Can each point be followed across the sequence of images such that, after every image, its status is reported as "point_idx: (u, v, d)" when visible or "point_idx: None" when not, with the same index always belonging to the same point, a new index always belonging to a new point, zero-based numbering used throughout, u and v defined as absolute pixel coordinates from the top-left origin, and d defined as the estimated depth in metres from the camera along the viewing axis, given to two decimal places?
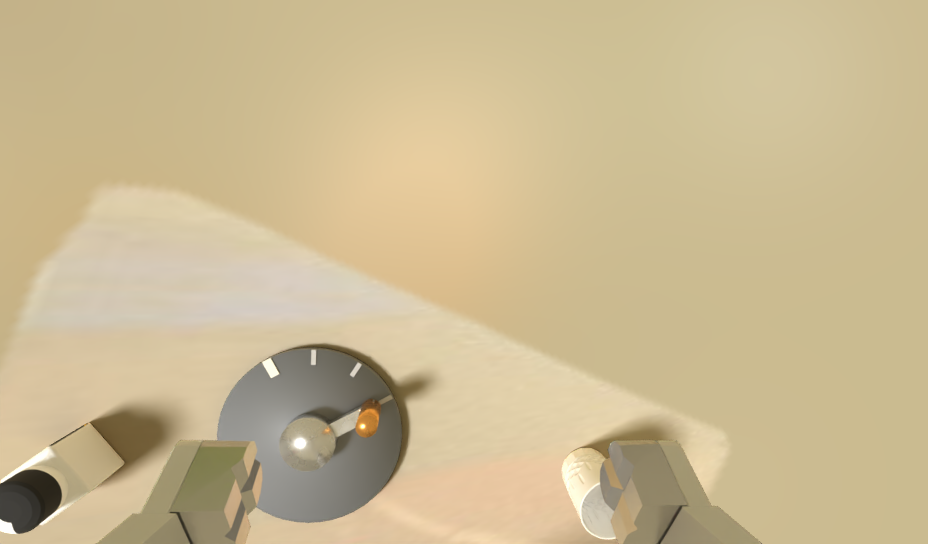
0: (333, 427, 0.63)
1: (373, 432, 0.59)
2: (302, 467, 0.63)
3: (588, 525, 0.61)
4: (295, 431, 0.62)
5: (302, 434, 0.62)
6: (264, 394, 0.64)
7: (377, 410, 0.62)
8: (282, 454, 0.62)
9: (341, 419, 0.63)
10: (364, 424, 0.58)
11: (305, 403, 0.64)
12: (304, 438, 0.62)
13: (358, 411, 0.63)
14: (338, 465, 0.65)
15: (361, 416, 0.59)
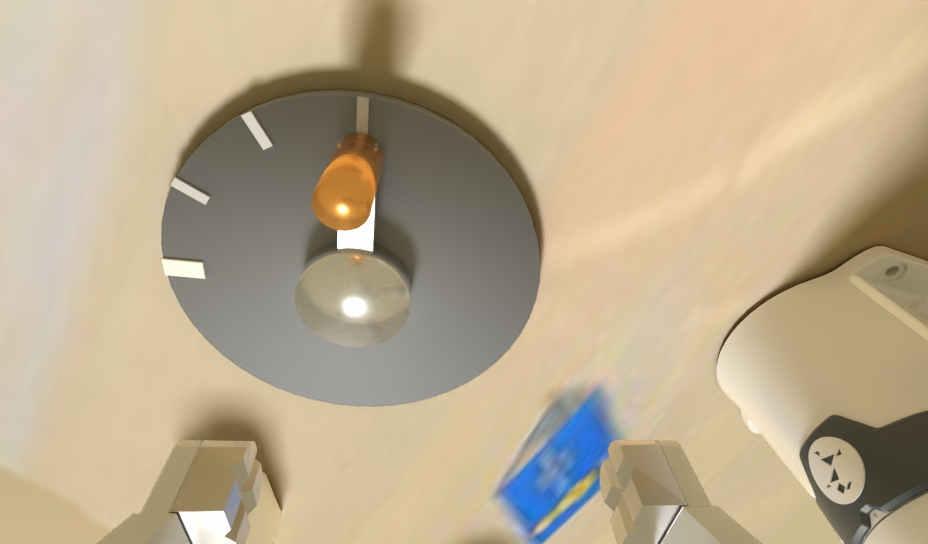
0: (348, 247, 0.28)
1: (365, 198, 0.21)
2: (388, 330, 0.31)
3: None
4: (315, 306, 0.30)
5: (327, 300, 0.30)
6: (234, 302, 0.32)
7: (348, 150, 0.23)
8: (345, 343, 0.32)
9: None
10: (332, 205, 0.21)
11: (286, 256, 0.31)
12: (337, 301, 0.30)
13: None
14: (439, 274, 0.32)
15: None
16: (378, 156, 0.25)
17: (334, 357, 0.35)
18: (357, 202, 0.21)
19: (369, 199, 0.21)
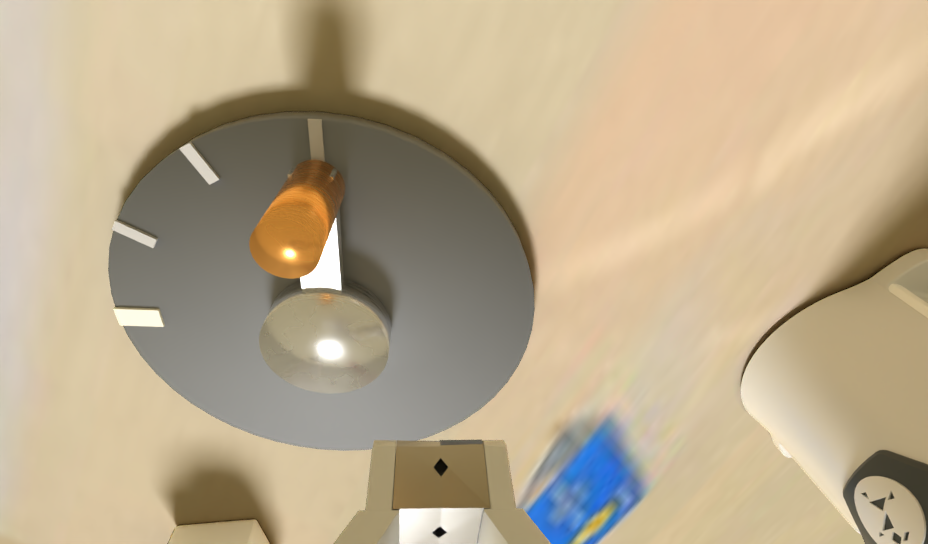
0: (313, 286, 0.25)
1: (311, 241, 0.18)
2: (368, 374, 0.28)
3: None
4: (282, 353, 0.27)
5: (296, 346, 0.27)
6: (199, 350, 0.29)
7: (296, 182, 0.20)
8: (321, 390, 0.29)
9: None
10: (274, 250, 0.18)
11: (249, 298, 0.27)
12: (307, 346, 0.27)
13: None
14: (421, 308, 0.28)
15: None
16: (335, 186, 0.22)
17: (315, 401, 0.32)
18: (303, 245, 0.18)
19: (316, 241, 0.18)
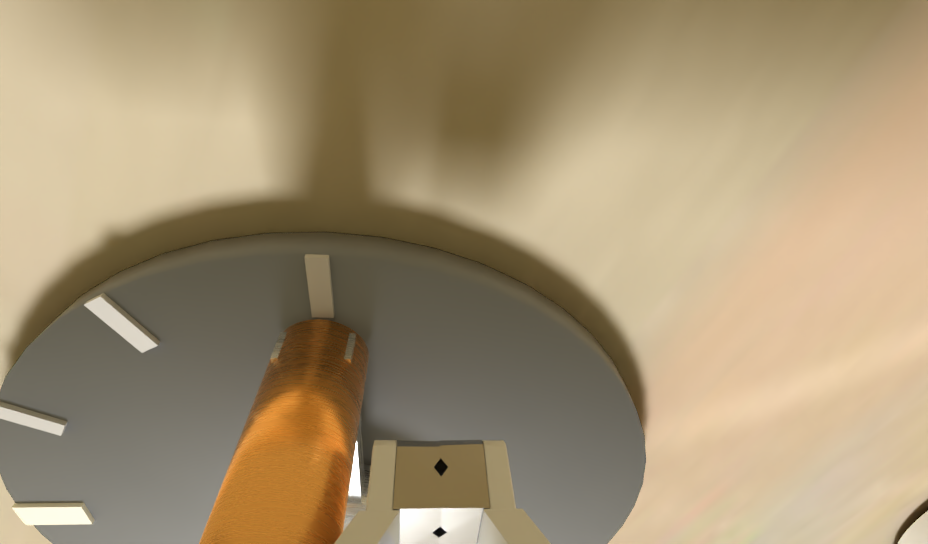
0: None
1: None
2: None
3: None
4: None
5: None
6: None
7: (285, 395, 0.11)
8: None
9: None
10: None
11: (220, 486, 0.18)
12: None
13: None
14: None
15: None
16: (354, 375, 0.12)
17: None
18: None
19: None
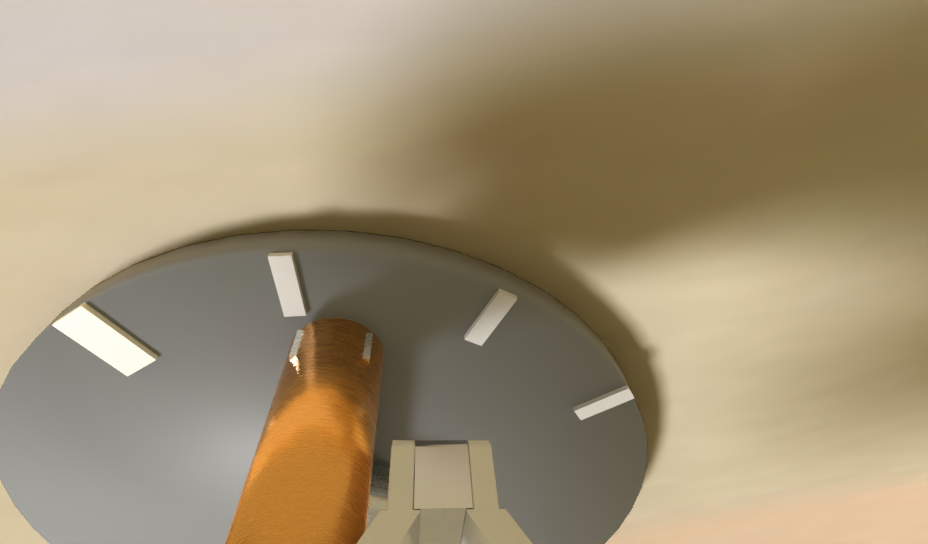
0: None
1: None
2: None
3: None
4: None
5: None
6: (129, 423, 0.16)
7: (307, 394, 0.11)
8: None
9: None
10: None
11: None
12: None
13: None
14: None
15: None
16: (372, 374, 0.12)
17: None
18: None
19: None
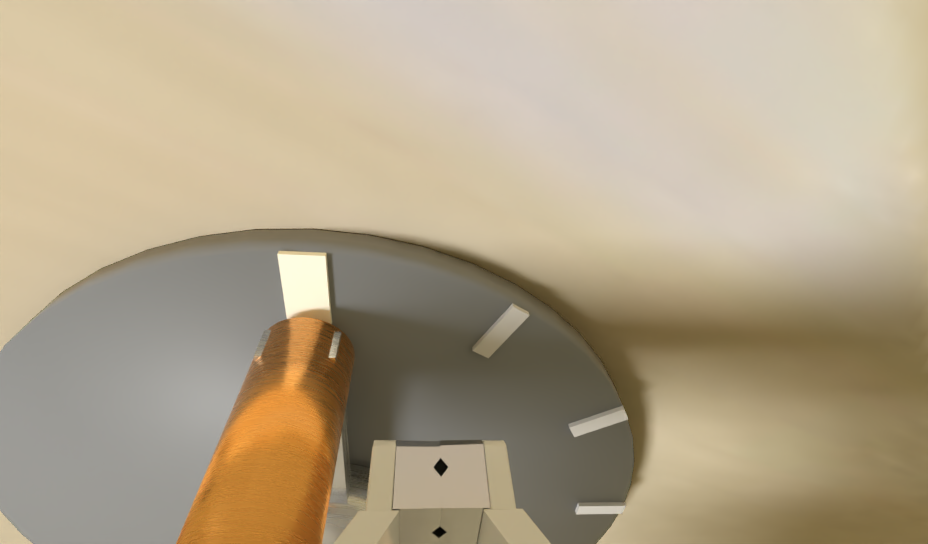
0: None
1: None
2: None
3: None
4: None
5: None
6: (229, 360, 0.15)
7: (267, 394, 0.11)
8: None
9: None
10: None
11: (370, 437, 0.17)
12: None
13: None
14: None
15: None
16: (338, 374, 0.12)
17: (137, 487, 0.18)
18: None
19: None
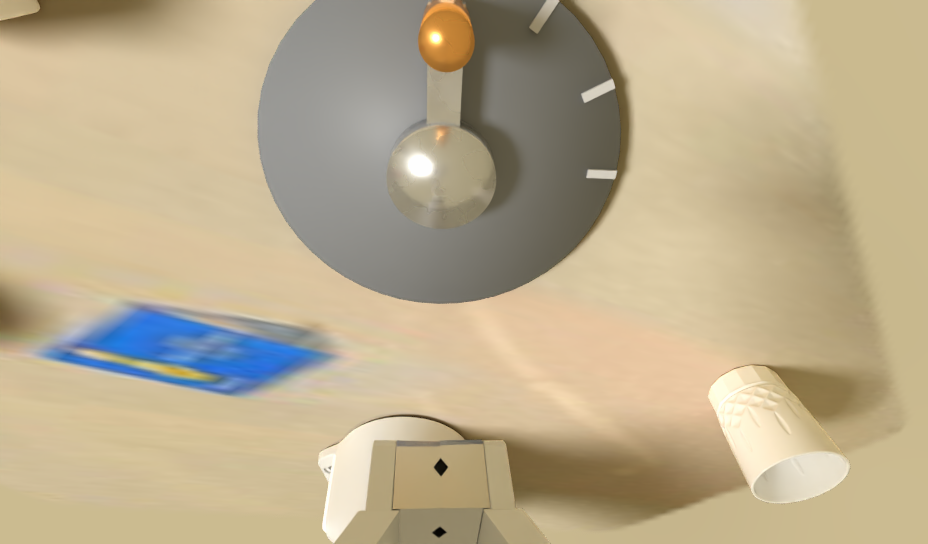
0: (437, 118, 0.29)
1: (468, 33, 0.22)
2: (475, 208, 0.32)
3: None
4: (405, 185, 0.31)
5: (417, 178, 0.31)
6: (402, 34, 0.28)
7: (442, 0, 0.24)
8: (434, 225, 0.33)
9: (429, 94, 0.28)
10: (437, 43, 0.22)
11: (469, 100, 0.30)
12: (426, 178, 0.31)
13: None
14: (457, 233, 0.36)
15: None
16: (467, 12, 0.26)
17: (337, 140, 0.32)
18: (461, 37, 0.22)
19: (473, 33, 0.22)
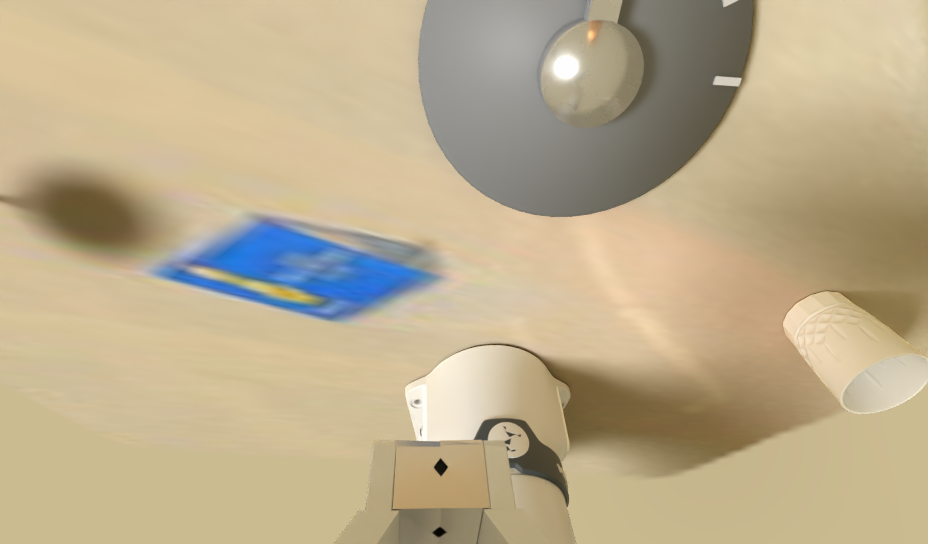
0: (598, 12, 0.32)
1: None
2: (618, 106, 0.35)
3: None
4: (559, 80, 0.33)
5: (572, 72, 0.33)
6: None
7: None
8: (577, 124, 0.35)
9: None
10: None
11: None
12: (580, 73, 0.33)
13: None
14: (585, 141, 0.38)
15: None
16: None
17: (493, 39, 0.34)
18: None
19: None
